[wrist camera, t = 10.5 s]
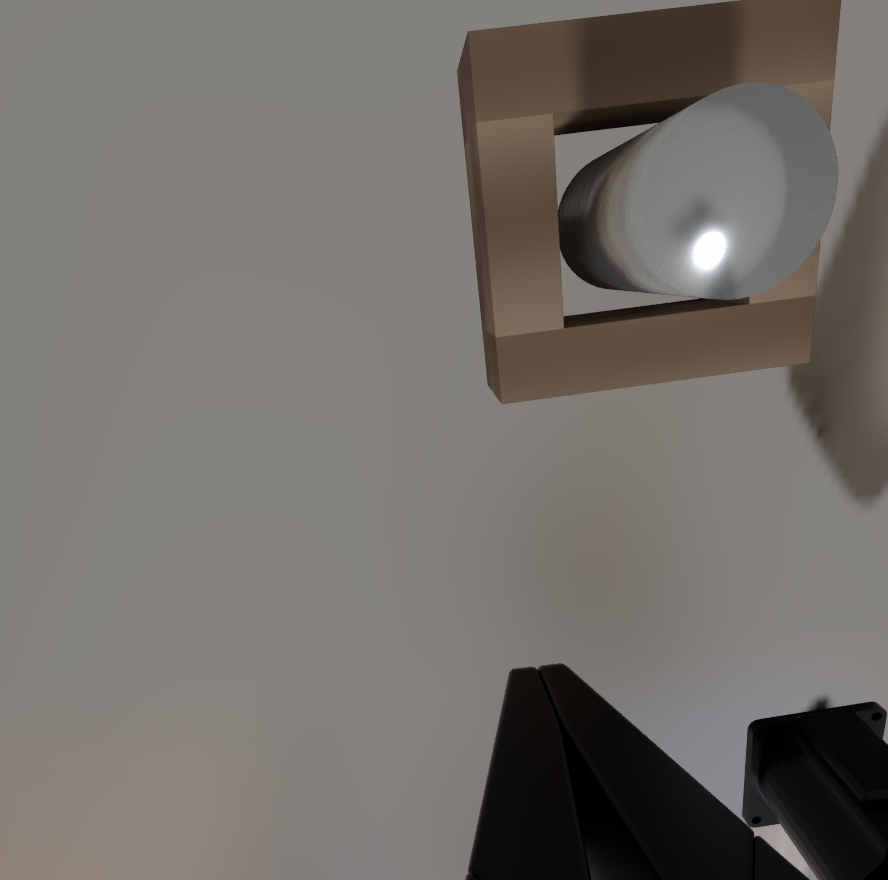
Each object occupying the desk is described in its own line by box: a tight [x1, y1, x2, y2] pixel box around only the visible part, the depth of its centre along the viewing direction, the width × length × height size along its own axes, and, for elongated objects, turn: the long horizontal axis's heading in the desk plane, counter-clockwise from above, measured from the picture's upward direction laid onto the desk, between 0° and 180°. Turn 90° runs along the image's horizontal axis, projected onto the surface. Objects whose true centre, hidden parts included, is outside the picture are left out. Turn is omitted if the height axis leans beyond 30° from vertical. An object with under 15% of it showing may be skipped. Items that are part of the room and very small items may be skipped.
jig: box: [457, 0, 841, 404], centre depth 17 cm, size 10×10×3 cm
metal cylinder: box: [558, 82, 838, 300], centre depth 15 cm, size 4×4×7 cm
